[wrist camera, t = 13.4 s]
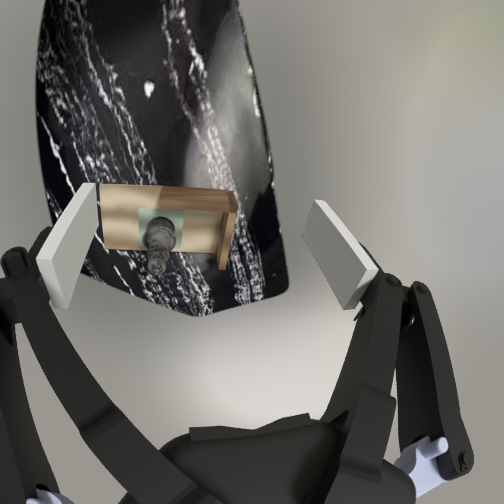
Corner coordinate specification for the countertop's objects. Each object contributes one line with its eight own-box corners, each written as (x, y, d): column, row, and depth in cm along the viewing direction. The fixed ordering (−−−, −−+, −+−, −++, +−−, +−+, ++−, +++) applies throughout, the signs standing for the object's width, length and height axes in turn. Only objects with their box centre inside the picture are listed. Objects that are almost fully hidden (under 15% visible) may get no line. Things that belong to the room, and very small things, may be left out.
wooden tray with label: (100, 184, 40) (91, 199, 36) (232, 190, 47) (238, 206, 42) (105, 246, 48) (99, 264, 43) (221, 250, 54) (225, 269, 50)
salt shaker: (183, 228, 48) (184, 274, 39) (161, 247, 50) (158, 295, 40) (159, 208, 45) (153, 252, 35) (138, 229, 46) (128, 275, 37)
